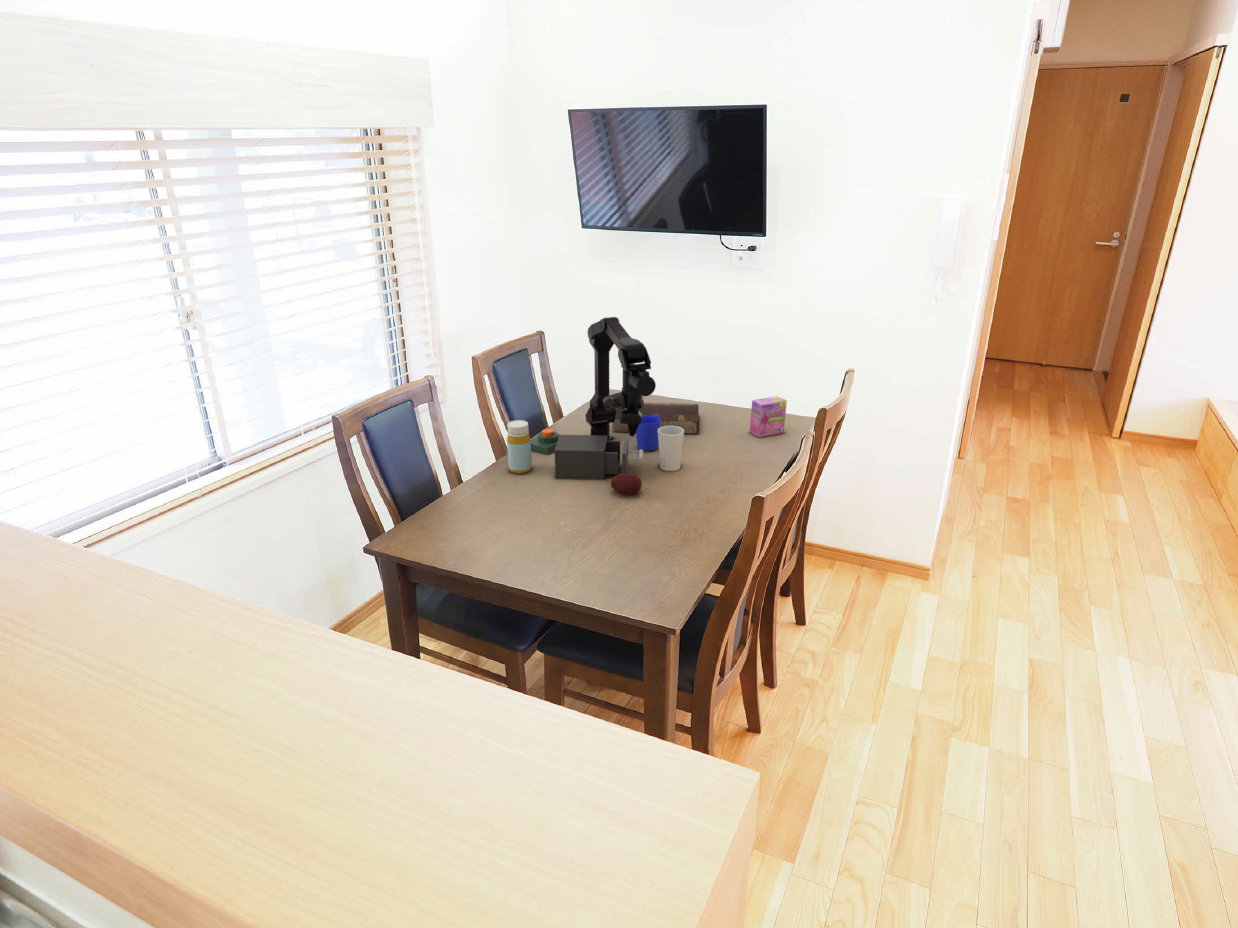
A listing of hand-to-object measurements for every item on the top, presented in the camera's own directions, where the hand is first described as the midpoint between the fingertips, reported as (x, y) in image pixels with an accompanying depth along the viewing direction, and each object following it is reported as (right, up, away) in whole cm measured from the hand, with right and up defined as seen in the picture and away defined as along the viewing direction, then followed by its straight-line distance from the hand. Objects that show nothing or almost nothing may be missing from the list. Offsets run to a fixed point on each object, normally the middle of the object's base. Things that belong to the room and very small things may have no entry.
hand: (632, 435), depth 234 cm
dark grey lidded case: (-15, -10, +5) cm, 19 cm away
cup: (+12, -9, +7) cm, 17 cm away
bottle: (-34, -10, +5) cm, 36 cm away
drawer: (-6, -10, +4) cm, 12 cm away
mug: (+6, -3, +23) cm, 24 cm away
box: (+46, +2, +33) cm, 57 cm away
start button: (-27, +1, +22) cm, 35 cm away
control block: (-27, -2, +23) cm, 36 cm away
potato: (-2, -17, -10) cm, 20 cm away
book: (+9, +6, +42) cm, 43 cm away
